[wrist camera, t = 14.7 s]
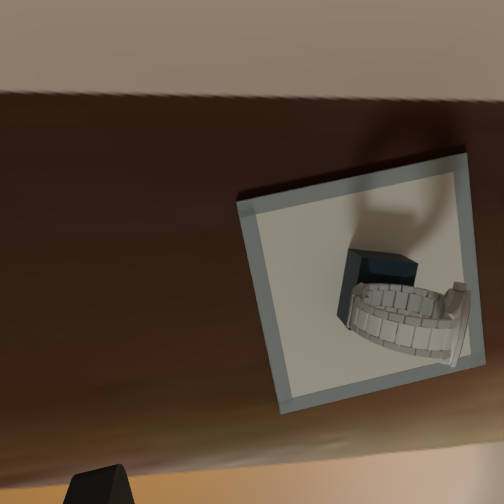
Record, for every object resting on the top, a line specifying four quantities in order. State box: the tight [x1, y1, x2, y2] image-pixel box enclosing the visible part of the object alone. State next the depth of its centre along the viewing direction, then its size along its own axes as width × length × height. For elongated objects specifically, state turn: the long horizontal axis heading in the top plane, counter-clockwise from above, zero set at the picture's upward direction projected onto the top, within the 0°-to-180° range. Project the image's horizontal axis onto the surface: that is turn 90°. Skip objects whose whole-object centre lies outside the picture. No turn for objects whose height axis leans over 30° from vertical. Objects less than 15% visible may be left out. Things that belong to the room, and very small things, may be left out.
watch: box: [337, 248, 471, 368], centre depth 32 cm, size 6×8×11 cm
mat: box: [236, 153, 486, 414], centre depth 37 cm, size 18×18×1 cm
